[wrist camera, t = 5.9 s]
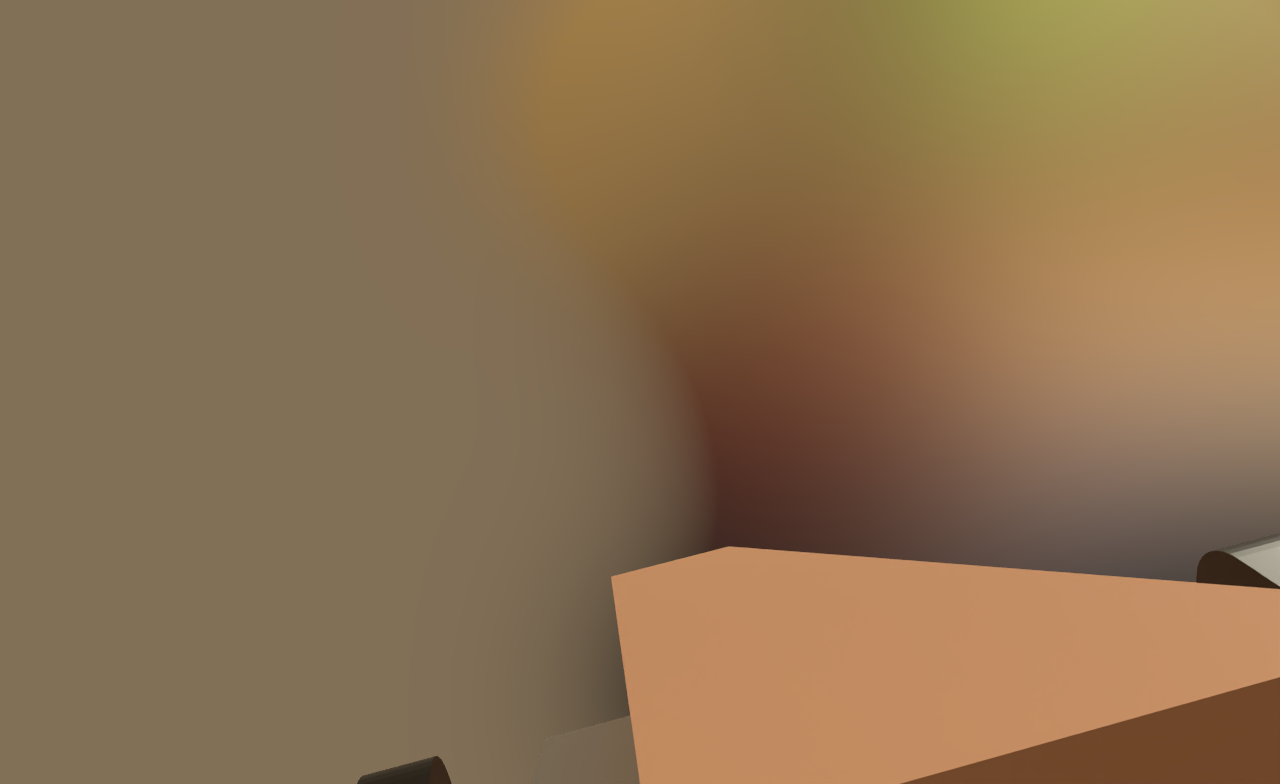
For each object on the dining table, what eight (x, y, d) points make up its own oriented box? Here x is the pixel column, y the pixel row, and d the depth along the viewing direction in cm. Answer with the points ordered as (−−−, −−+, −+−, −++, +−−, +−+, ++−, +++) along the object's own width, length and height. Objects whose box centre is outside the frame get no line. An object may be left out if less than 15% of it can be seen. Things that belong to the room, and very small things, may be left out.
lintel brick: (640, 700, 29) (610, 576, 29) (760, 668, 29) (729, 546, 30) (933, 2056, 3) (649, 854, 4) (1934, 1660, 3) (1526, 606, 4)
